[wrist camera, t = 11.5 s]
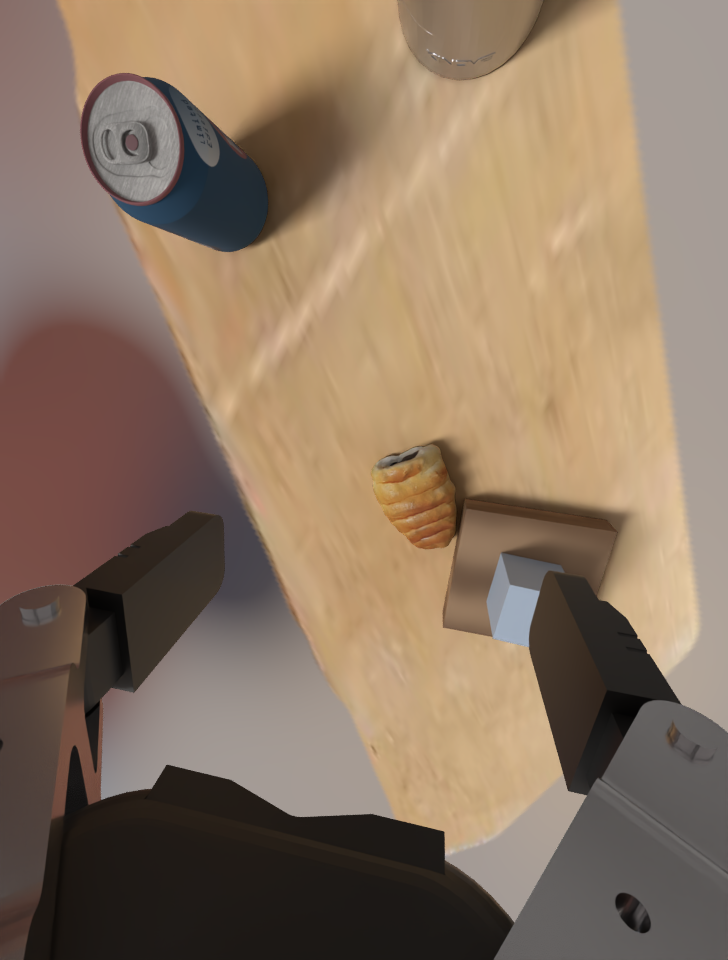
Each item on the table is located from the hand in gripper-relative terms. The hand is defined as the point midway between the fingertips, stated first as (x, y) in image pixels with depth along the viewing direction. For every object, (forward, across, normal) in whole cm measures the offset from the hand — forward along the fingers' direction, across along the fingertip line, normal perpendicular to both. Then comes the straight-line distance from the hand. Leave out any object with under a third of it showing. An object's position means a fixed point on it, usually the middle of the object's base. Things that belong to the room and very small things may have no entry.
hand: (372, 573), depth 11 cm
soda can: (+28, +16, -13) cm, 35 cm away
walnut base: (+28, -11, +14) cm, 33 cm away
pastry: (+28, -1, +8) cm, 29 cm away
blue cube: (+25, -11, +14) cm, 31 cm away
